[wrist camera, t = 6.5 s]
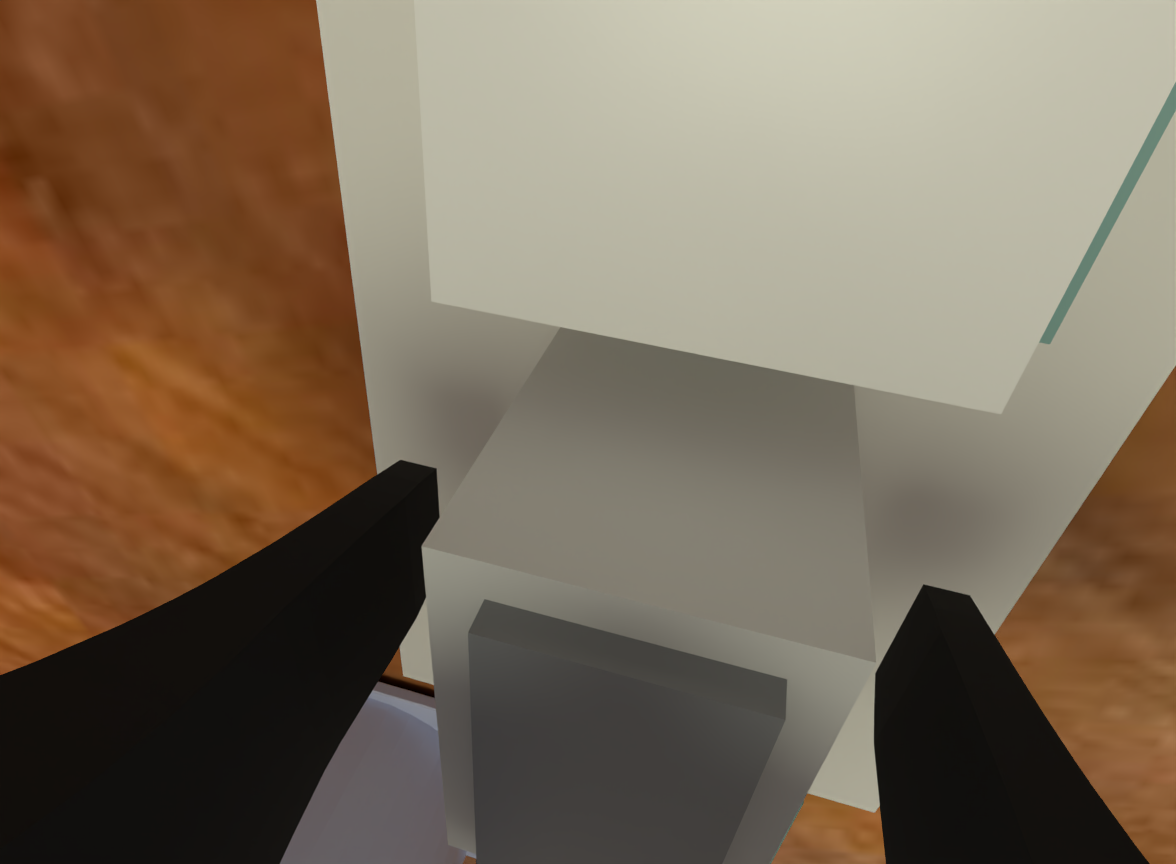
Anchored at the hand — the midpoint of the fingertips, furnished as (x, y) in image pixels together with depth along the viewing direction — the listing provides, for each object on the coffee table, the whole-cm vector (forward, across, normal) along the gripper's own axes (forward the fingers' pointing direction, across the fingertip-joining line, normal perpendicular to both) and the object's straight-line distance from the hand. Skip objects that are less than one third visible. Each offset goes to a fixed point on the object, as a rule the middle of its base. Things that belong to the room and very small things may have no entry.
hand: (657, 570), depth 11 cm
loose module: (+3, 0, 0) cm, 3 cm away
